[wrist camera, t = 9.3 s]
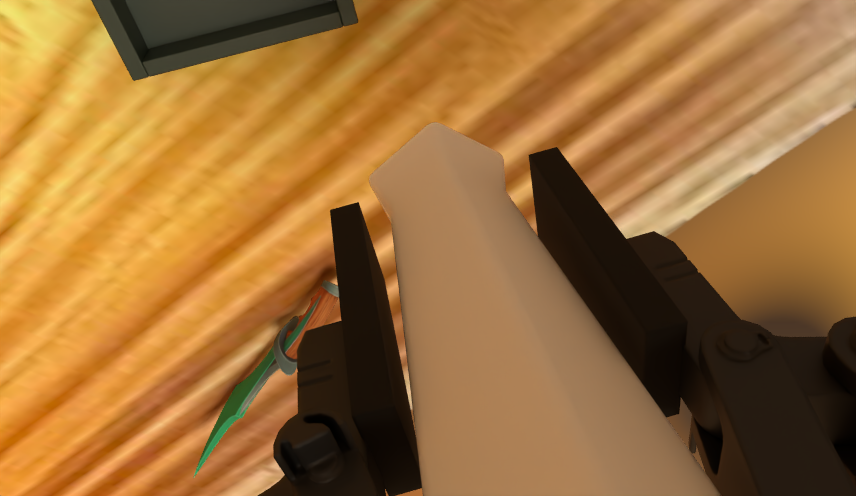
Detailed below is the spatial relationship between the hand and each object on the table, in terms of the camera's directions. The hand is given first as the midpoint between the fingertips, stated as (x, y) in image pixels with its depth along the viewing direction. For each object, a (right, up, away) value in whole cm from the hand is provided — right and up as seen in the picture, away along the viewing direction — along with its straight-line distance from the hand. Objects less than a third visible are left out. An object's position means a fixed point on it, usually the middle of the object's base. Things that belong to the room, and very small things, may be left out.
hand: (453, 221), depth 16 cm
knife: (-13, -8, +30) cm, 34 cm away
